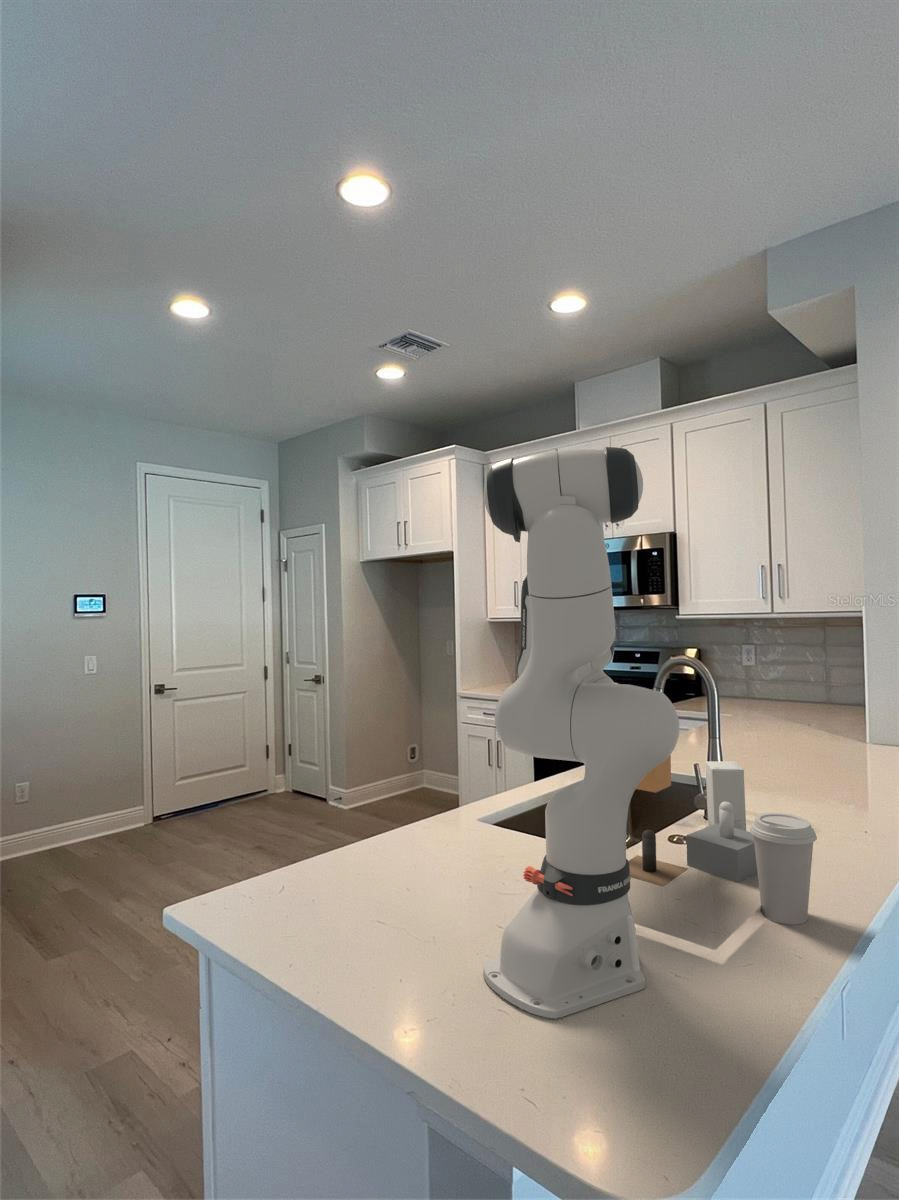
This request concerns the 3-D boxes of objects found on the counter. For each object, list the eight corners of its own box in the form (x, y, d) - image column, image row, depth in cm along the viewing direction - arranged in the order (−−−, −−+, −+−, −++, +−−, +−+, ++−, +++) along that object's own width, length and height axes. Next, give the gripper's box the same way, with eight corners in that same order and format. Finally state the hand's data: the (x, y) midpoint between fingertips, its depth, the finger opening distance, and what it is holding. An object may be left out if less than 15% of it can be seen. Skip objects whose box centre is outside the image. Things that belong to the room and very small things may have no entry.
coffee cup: (737, 908, 113) (736, 815, 113) (783, 898, 116) (781, 808, 116) (785, 934, 104) (783, 834, 104) (832, 922, 107) (831, 825, 107)
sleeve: (655, 792, 121) (654, 746, 121) (624, 786, 125) (623, 742, 125) (671, 785, 125) (670, 741, 125) (640, 780, 129) (639, 737, 129)
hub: (738, 890, 119) (736, 814, 119) (687, 873, 127) (685, 801, 127) (768, 875, 125) (767, 802, 125) (718, 859, 133) (716, 790, 133)
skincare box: (747, 848, 139) (745, 770, 139) (712, 846, 140) (711, 769, 140) (738, 833, 147) (737, 760, 147) (705, 832, 149) (704, 759, 149)
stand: (663, 894, 118) (662, 843, 118) (610, 879, 125) (609, 831, 125) (688, 876, 126) (687, 828, 126) (637, 863, 132) (636, 817, 132)
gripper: (581, 699, 122) (633, 763, 116) (637, 687, 137) (686, 743, 131) (561, 722, 125) (610, 785, 119) (618, 708, 140) (664, 763, 134)
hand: (650, 763), depth 125 cm, fingers closed on sleeve, 6 cm apart
